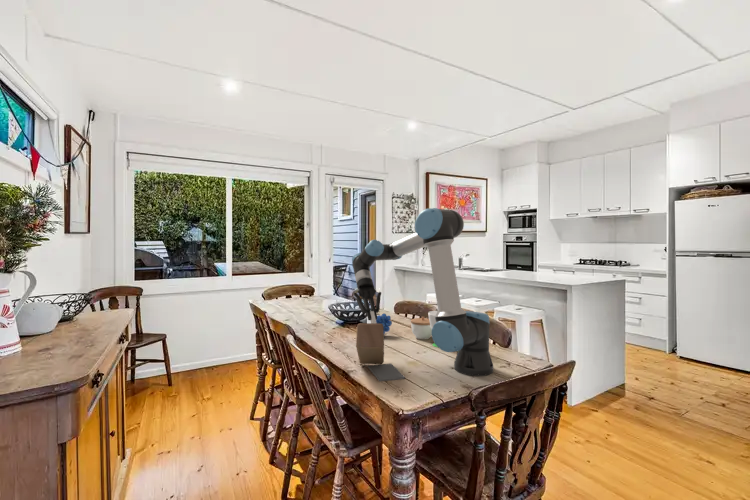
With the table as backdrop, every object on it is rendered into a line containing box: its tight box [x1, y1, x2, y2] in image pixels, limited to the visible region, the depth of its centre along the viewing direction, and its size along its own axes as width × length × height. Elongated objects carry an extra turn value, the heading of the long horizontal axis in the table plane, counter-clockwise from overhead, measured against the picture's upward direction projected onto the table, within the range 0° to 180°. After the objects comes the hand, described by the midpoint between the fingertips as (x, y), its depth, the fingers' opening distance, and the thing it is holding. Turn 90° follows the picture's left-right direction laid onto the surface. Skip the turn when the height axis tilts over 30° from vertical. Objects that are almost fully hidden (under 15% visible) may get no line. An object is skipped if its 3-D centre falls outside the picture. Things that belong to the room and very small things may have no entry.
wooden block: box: [355, 322, 385, 365], centre depth 147 cm, size 10×10×20 cm
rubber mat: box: [367, 363, 406, 382], centre depth 144 cm, size 16×10×1 cm, turn 16°
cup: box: [427, 310, 440, 349], centre depth 181 cm, size 14×14×16 cm
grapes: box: [376, 313, 393, 335], centre depth 200 cm, size 12×7×12 cm, turn 111°
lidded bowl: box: [410, 316, 432, 340], centre depth 196 cm, size 13×13×11 cm
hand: (374, 325), depth 155 cm, fingers closed
